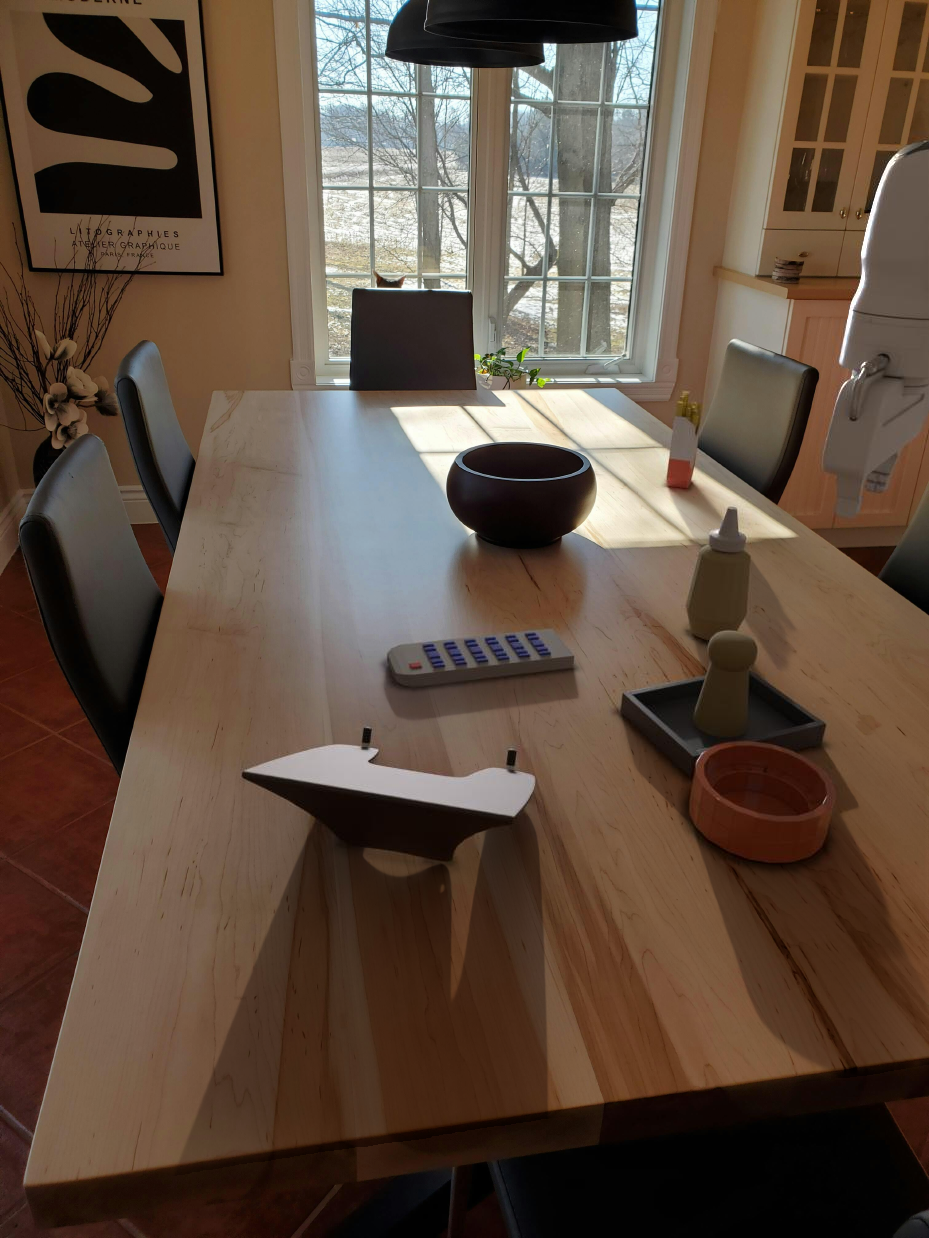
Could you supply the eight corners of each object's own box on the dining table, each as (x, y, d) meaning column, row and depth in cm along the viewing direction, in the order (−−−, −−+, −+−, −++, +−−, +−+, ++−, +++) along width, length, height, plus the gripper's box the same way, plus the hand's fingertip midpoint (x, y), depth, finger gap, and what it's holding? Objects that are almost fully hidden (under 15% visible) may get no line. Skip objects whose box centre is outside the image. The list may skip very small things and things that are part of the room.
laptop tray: (537, 843, 92) (548, 753, 92) (504, 908, 69) (519, 790, 69) (325, 806, 96) (336, 721, 96) (229, 857, 74) (243, 746, 74)
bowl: (764, 771, 94) (773, 731, 92) (853, 845, 84) (865, 802, 82) (663, 797, 90) (669, 755, 88) (744, 879, 79) (754, 834, 77)
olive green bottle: (714, 742, 98) (730, 653, 93) (681, 714, 103) (694, 628, 98) (758, 730, 100) (776, 643, 95) (723, 704, 105) (738, 620, 100)
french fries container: (694, 478, 189) (707, 391, 181) (687, 492, 180) (700, 402, 172) (672, 475, 190) (684, 389, 182) (664, 489, 181) (676, 399, 173)
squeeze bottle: (727, 618, 127) (747, 497, 120) (752, 644, 120) (776, 517, 112) (673, 621, 126) (690, 499, 118) (696, 648, 119) (716, 519, 111)
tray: (743, 685, 110) (746, 666, 109) (822, 743, 99) (826, 723, 98) (620, 711, 104) (622, 692, 103) (689, 777, 93) (693, 756, 92)
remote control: (573, 669, 113) (574, 653, 112) (398, 689, 108) (398, 673, 107) (550, 640, 120) (552, 626, 119) (384, 658, 114) (384, 642, 113)
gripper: (906, 369, 68) (865, 541, 74) (961, 339, 82) (923, 484, 89) (821, 358, 71) (789, 523, 77) (889, 331, 86) (857, 472, 92)
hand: (861, 502), depth 83 cm, fingers open, 8 cm apart
